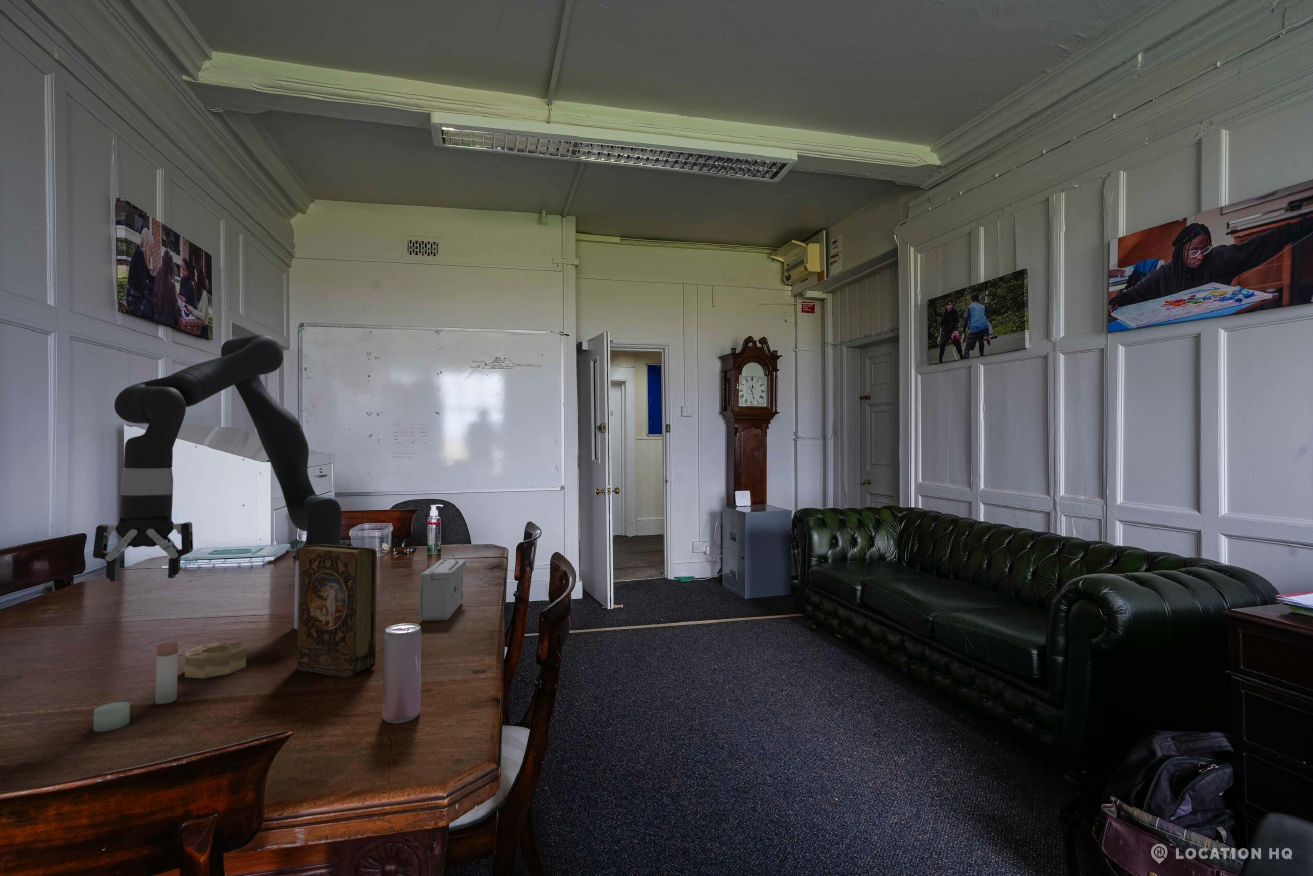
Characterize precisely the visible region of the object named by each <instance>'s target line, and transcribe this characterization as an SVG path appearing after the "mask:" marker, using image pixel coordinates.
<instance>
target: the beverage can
mask: <svg viewBox="0 0 1313 876" xmlns="http://www.w3.org/2000/svg"><path fill="white" fill-rule="evenodd" d="M382 650H383V651H382V652H383V653H382V654H383V655H382V705H381V707H382V708H381V709H382V711H381V716H382V719H383V720H384V721H385V722H386V723H389V724H402V723H408V722H410V721H412V720H414V719H416V718H417V717H418V715H419V714H420V712H421V692H422V691H421V682H422V679H421V677H422V674H421V673H422V631H421V626H420V625H419V624H416V623H399V624H394V625H390V626H387V627H386V628H385V629H384V635H383V649H382Z"/></svg>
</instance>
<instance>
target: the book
mask: <svg viewBox="0 0 1313 876" xmlns="http://www.w3.org/2000/svg"><path fill="white" fill-rule="evenodd" d="M298 548H299V591H298V630H297V641H296V642H297V646H296V647H297V649H296V652H297V653H296V669H297V670H300V671H308V672H313V673H318V674H324V675H331V676H336V677H344V678H353V677H355V675H356V674H358V673H361V672H363V671H367V670H371V669H373V668H375V666H376V654H377V649H376V647H377V644H376V643H377V587H378V586H377V581H378V580H377V579H378V578H377V576H378V575H377V574H378V567H377V565H378V563H377V561H378V552H377V549H376V548H374V547H363V546H351V545H326V544H317V545H308V546H303V545H301V546H300V547H298Z"/></svg>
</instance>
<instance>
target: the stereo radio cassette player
mask: <svg viewBox="0 0 1313 876" xmlns="http://www.w3.org/2000/svg"><path fill="white" fill-rule="evenodd" d="M445 547H446V548H447V549H448V551H449V553H450V555H451V556H452V558H453V559H440V560H438V561H437V562H435V563H434V564H433V565H432V566H430V567H429V568H427V569H426V570H425V571H423V572H422V573H421V574H420V580H419V617H420V619H422V620H423V621H424V622H429V621H444V622H445V621H448V620H449V619H450V618H451V616H452V615H453V614H454V613H455V612H456V610H458V608H459V607H460V606H461V605H462V603H463V595H464V594H463V592H464V589H463V588H464V587H463V586H464V568H465V567H466V566H467V560H466V559H457V558H456V556H455V555H454V553H453V552H452V551H451V549H450V548H449V546H448V545H446V546H445Z"/></svg>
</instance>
